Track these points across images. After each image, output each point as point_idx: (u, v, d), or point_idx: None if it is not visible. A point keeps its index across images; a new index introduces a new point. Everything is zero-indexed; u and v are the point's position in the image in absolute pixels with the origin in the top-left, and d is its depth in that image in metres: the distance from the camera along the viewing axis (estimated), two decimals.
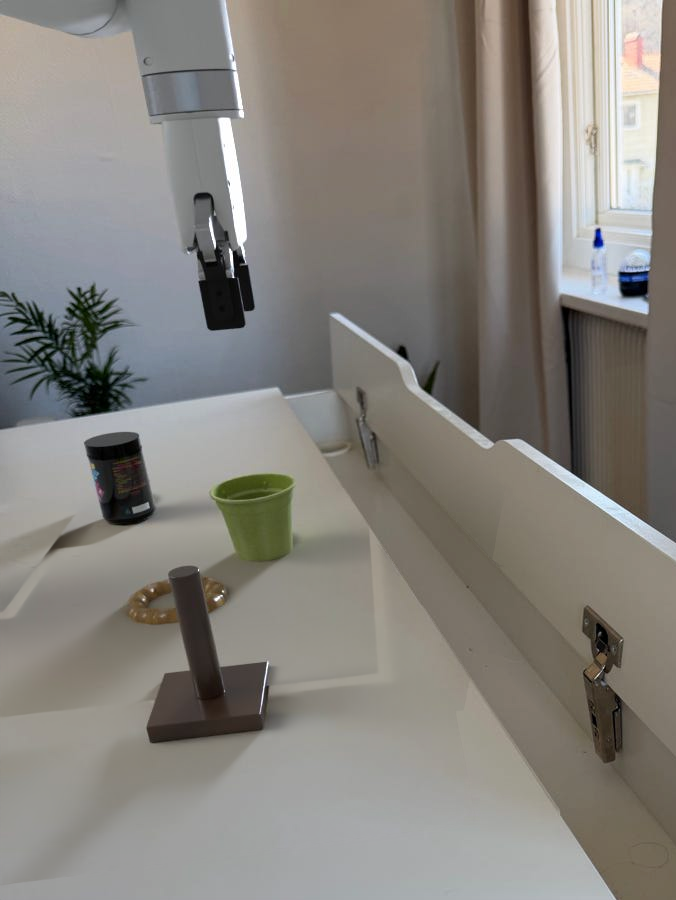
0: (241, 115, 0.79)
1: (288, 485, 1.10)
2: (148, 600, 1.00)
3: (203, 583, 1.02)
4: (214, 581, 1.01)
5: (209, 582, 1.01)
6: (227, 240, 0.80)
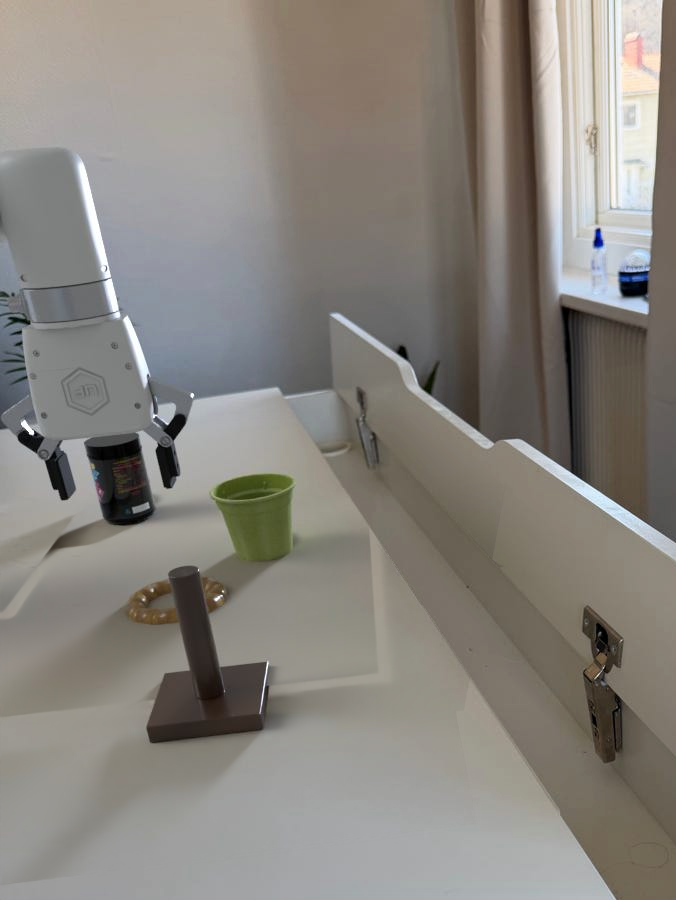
0: None
1: (288, 485, 1.10)
2: (148, 600, 1.00)
3: (203, 583, 1.02)
4: (214, 581, 1.01)
5: (209, 582, 1.01)
6: None
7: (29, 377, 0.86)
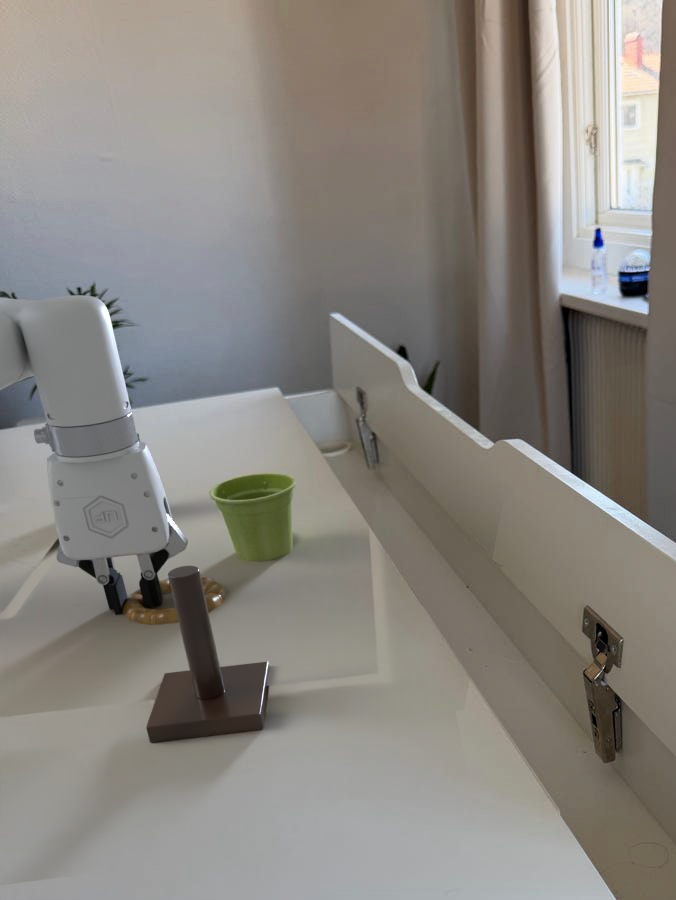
0: None
1: (288, 485, 1.10)
2: None
3: None
4: (212, 581, 1.01)
5: (207, 582, 1.01)
6: None
7: (53, 504, 0.91)
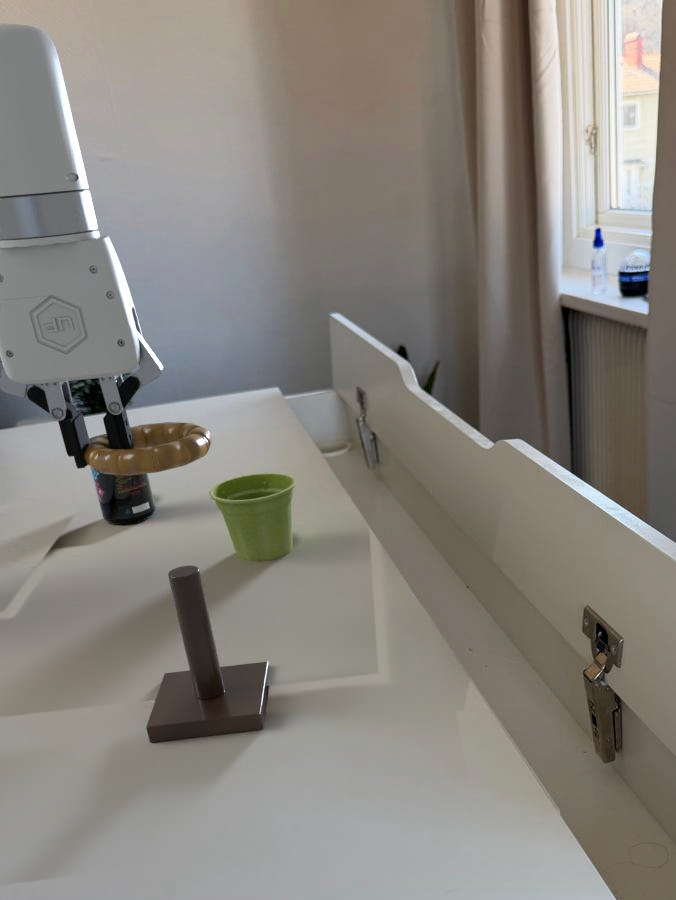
0: None
1: (288, 485, 1.10)
2: None
3: (181, 428, 0.83)
4: (195, 425, 0.83)
5: (189, 426, 0.83)
6: None
7: None
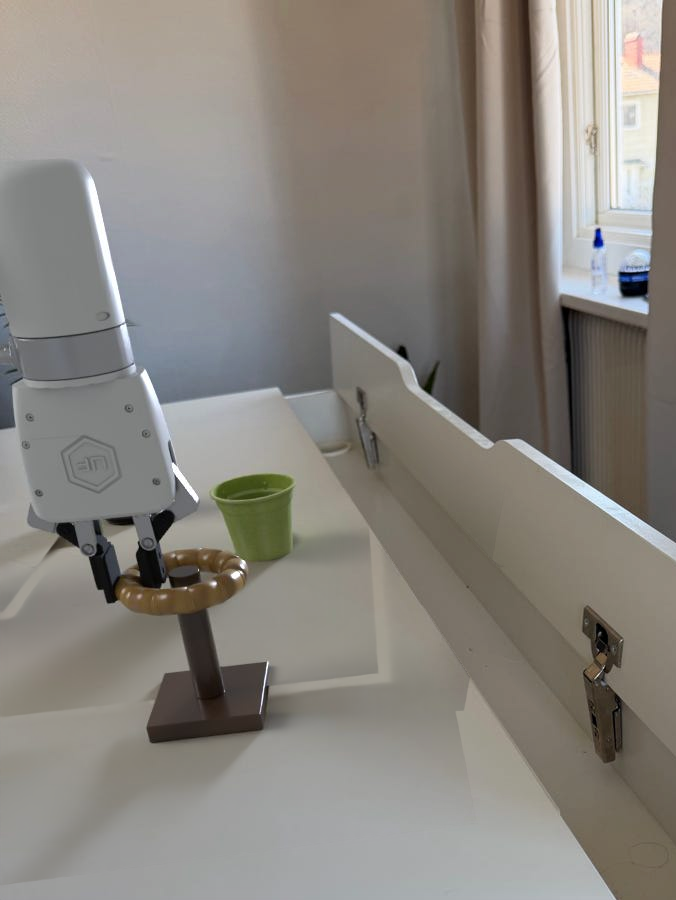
0: None
1: (288, 485, 1.10)
2: None
3: (217, 557, 0.79)
4: (231, 554, 0.78)
5: (224, 556, 0.78)
6: None
7: (21, 446, 0.68)
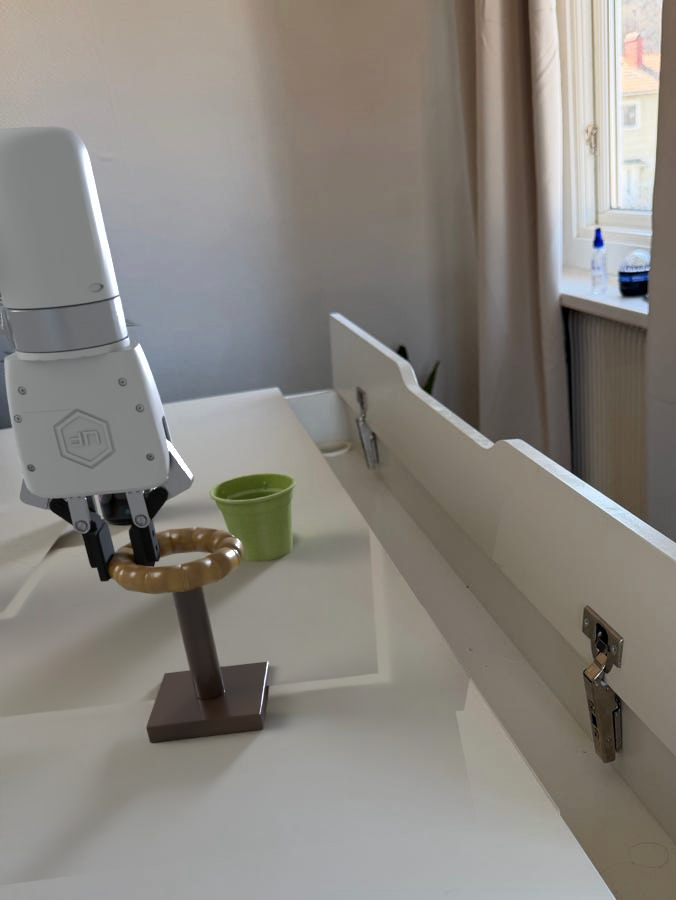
0: None
1: (288, 485, 1.10)
2: None
3: (211, 536, 0.78)
4: (226, 533, 0.78)
5: (219, 535, 0.78)
6: None
7: (13, 420, 0.68)
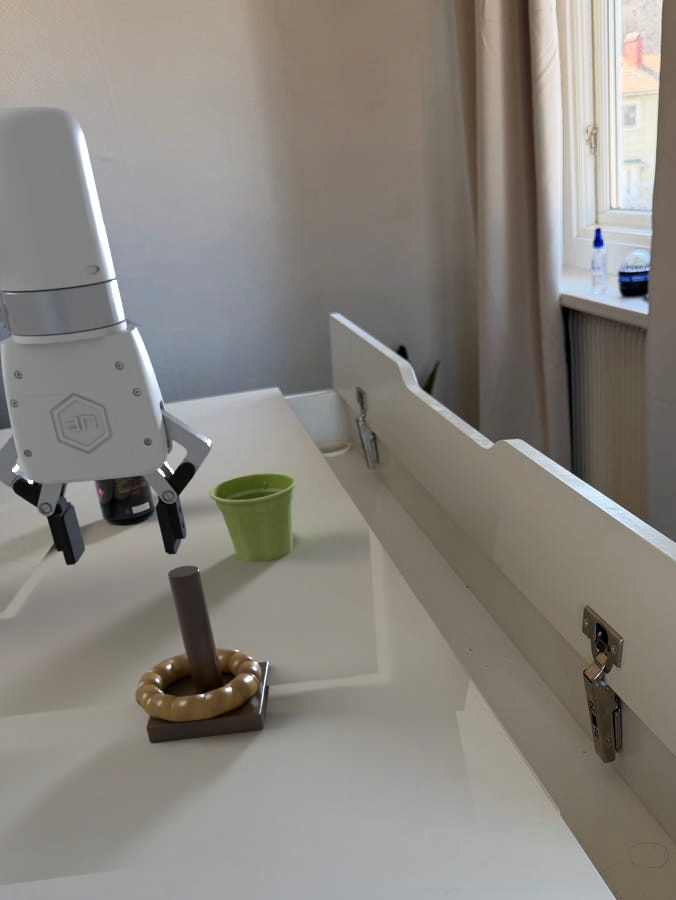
0: None
1: (288, 485, 1.10)
2: (164, 681, 0.81)
3: (231, 658, 0.83)
4: (245, 656, 0.83)
5: (239, 658, 0.82)
6: (166, 447, 0.73)
7: (9, 405, 0.67)
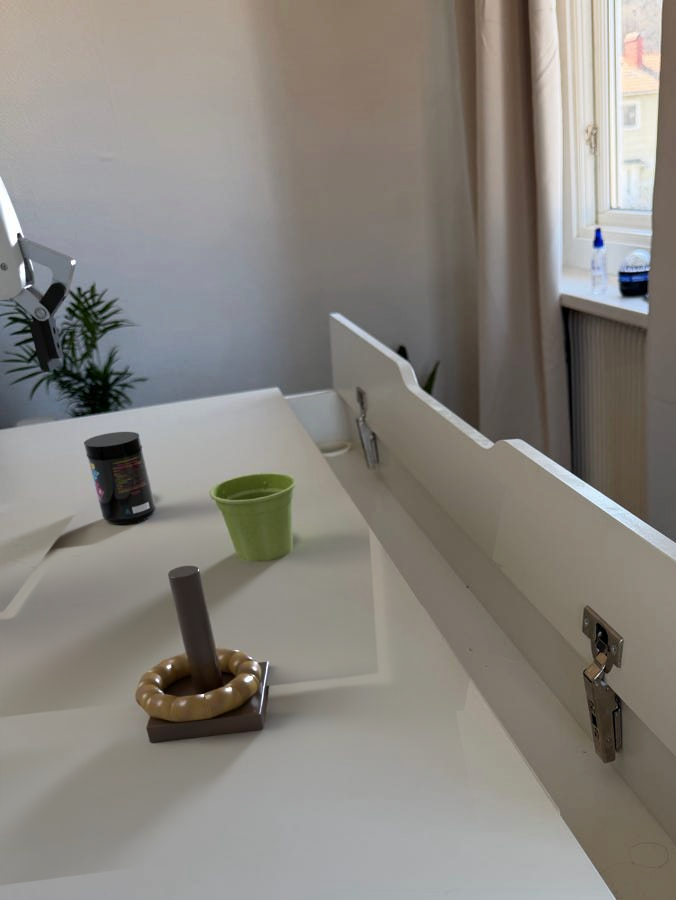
0: None
1: (288, 485, 1.10)
2: (164, 681, 0.81)
3: (231, 658, 0.83)
4: (245, 656, 0.83)
5: (239, 658, 0.82)
6: (28, 280, 0.80)
7: None
